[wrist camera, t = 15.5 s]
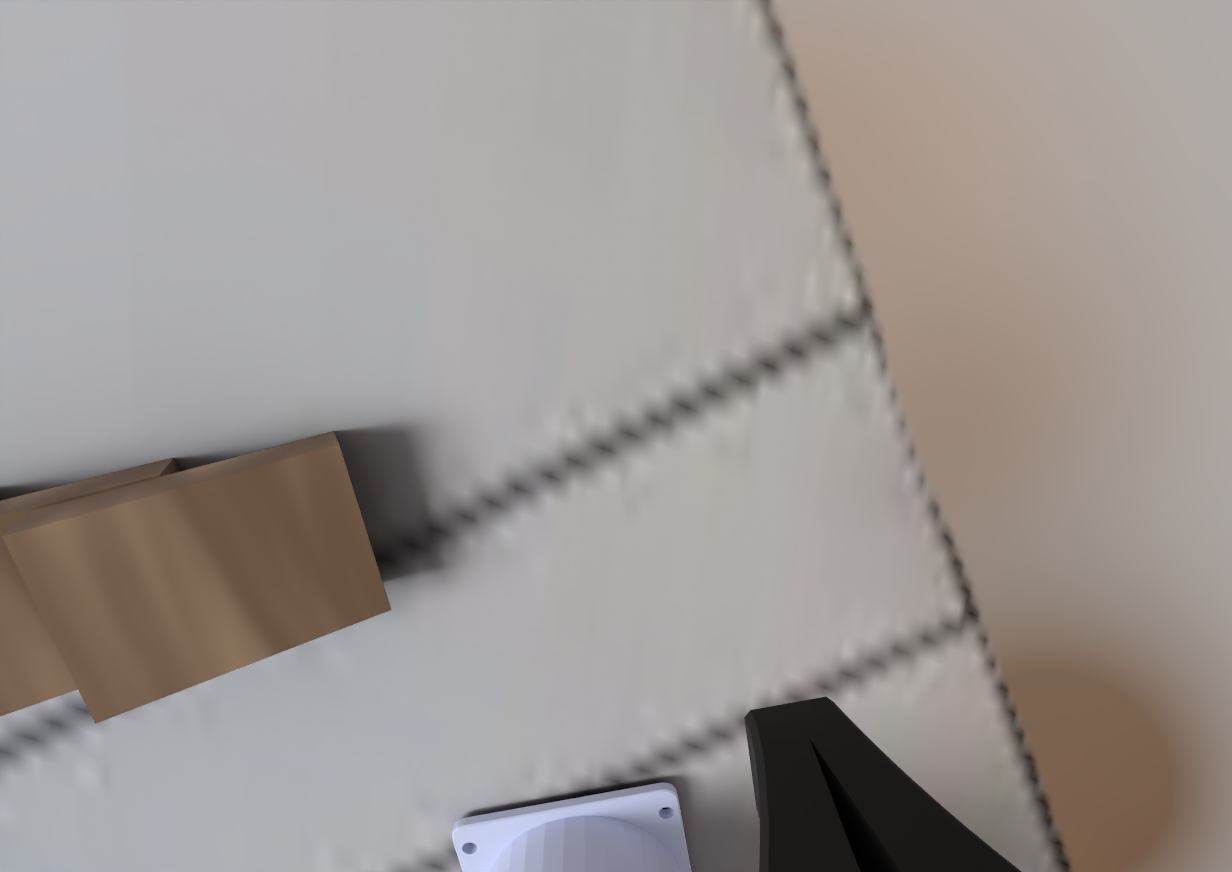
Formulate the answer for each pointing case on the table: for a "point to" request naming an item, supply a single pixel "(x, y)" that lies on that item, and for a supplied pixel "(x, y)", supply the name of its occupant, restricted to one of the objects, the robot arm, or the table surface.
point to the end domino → (199, 571)
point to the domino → (7, 615)
